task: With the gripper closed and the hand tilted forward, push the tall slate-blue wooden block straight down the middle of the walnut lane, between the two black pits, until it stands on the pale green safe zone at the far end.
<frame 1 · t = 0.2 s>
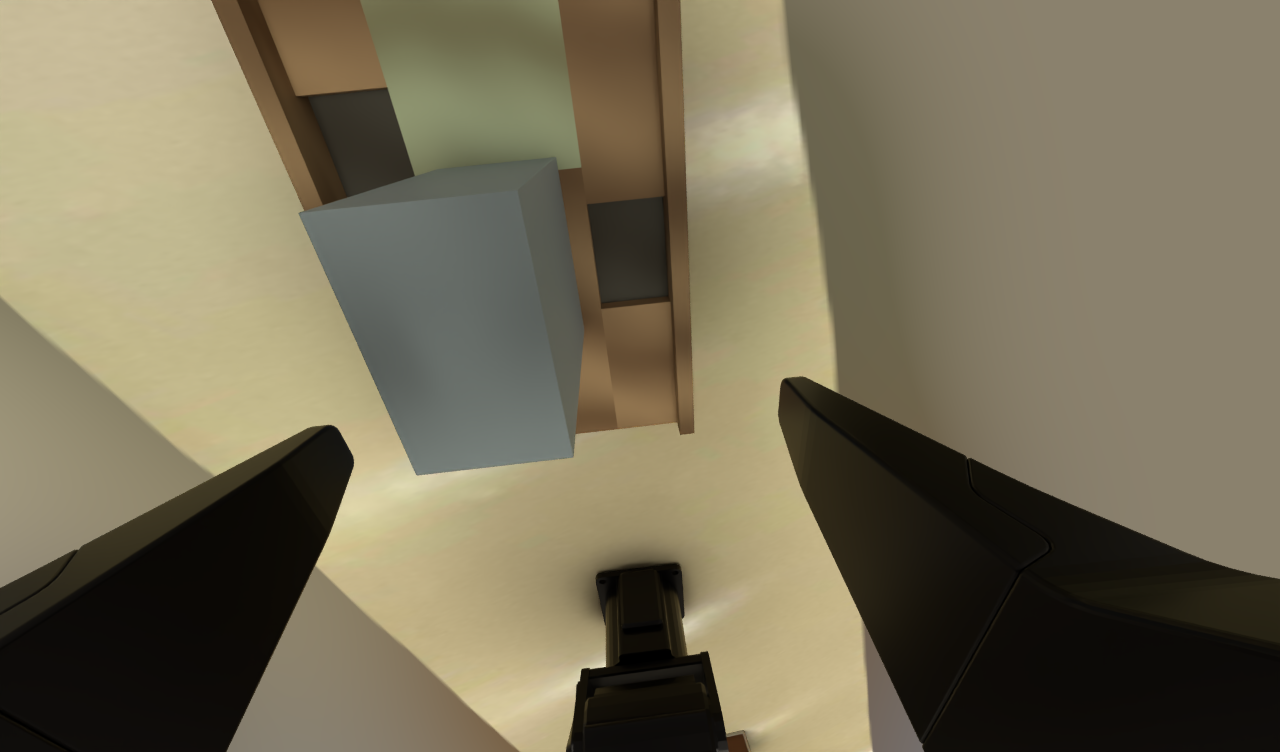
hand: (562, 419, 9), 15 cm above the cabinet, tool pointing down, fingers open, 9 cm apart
food container: (707, 748, 51), on the cabinet
slate block: (518, 257, 21), point 1 cm above the cabinet, touching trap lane
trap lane: (514, 219, 21), on the cabinet
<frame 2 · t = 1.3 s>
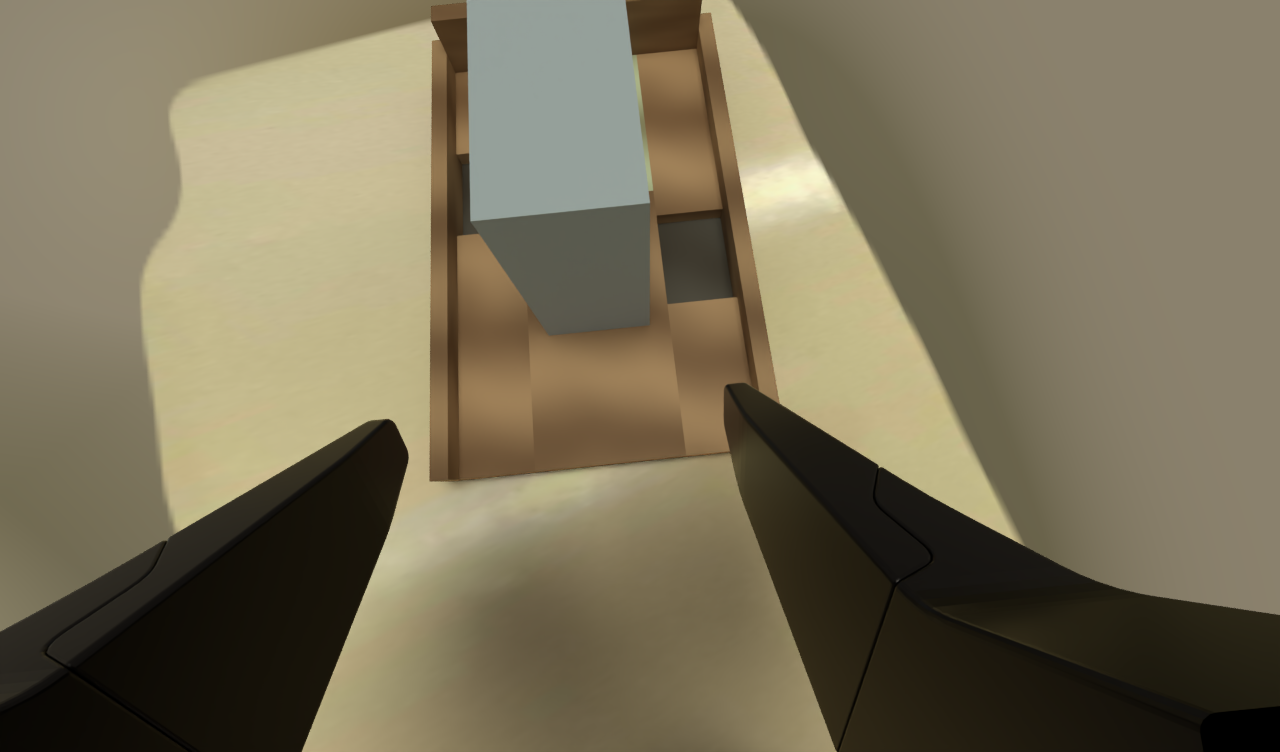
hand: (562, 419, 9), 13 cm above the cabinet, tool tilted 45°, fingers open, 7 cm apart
slate block: (593, 256, 23), point 1 cm above the cabinet, touching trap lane
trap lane: (593, 240, 24), on the cabinet
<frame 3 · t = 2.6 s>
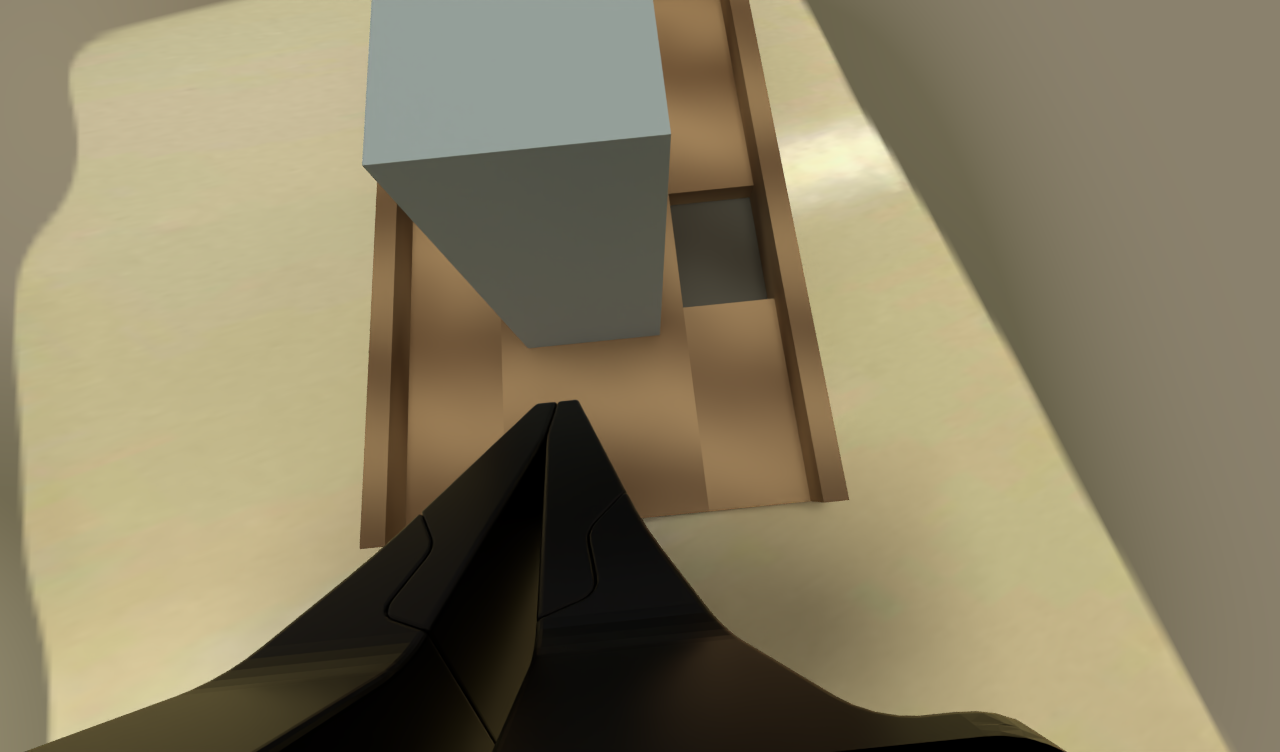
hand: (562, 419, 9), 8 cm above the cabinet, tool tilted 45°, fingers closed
slate block: (586, 246, 18), point 1 cm above the cabinet, touching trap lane
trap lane: (587, 226, 19), on the cabinet
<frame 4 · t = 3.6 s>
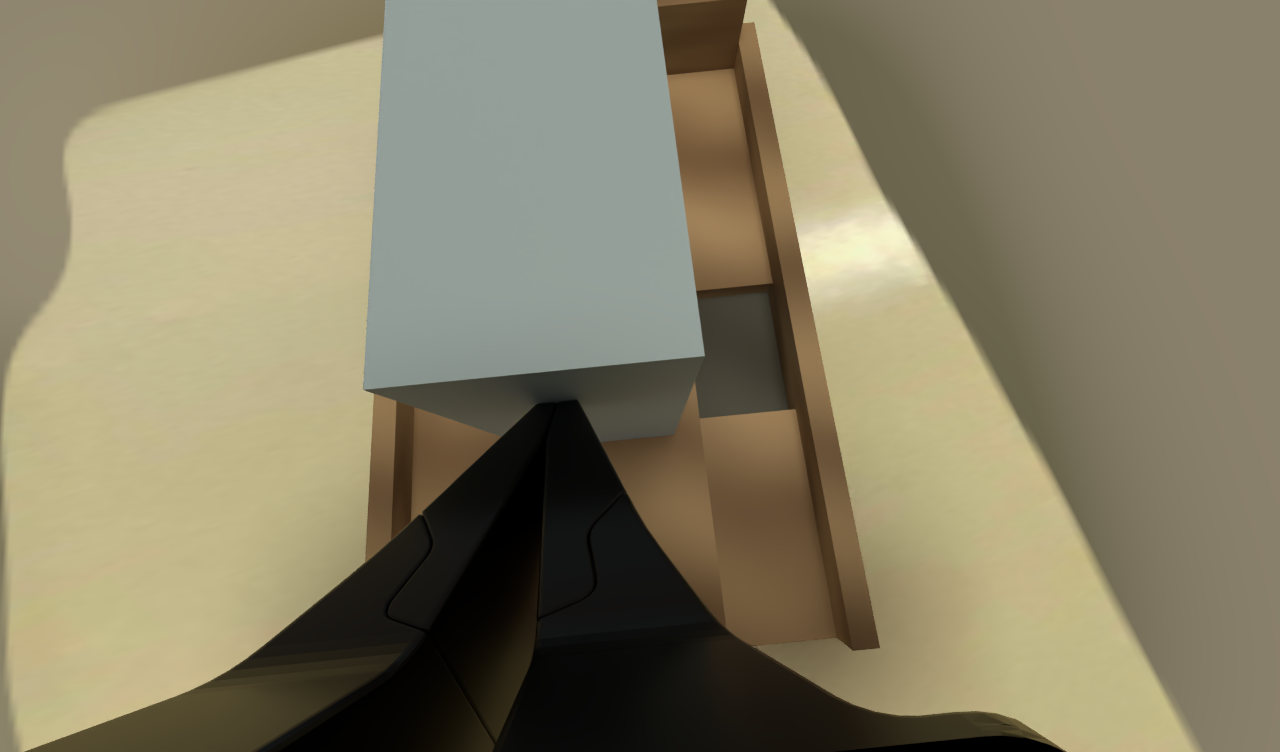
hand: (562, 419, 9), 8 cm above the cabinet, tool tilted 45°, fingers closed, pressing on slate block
slate block: (597, 337, 17), point 1 cm above the cabinet, touching gripper
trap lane: (598, 322, 18), on the cabinet
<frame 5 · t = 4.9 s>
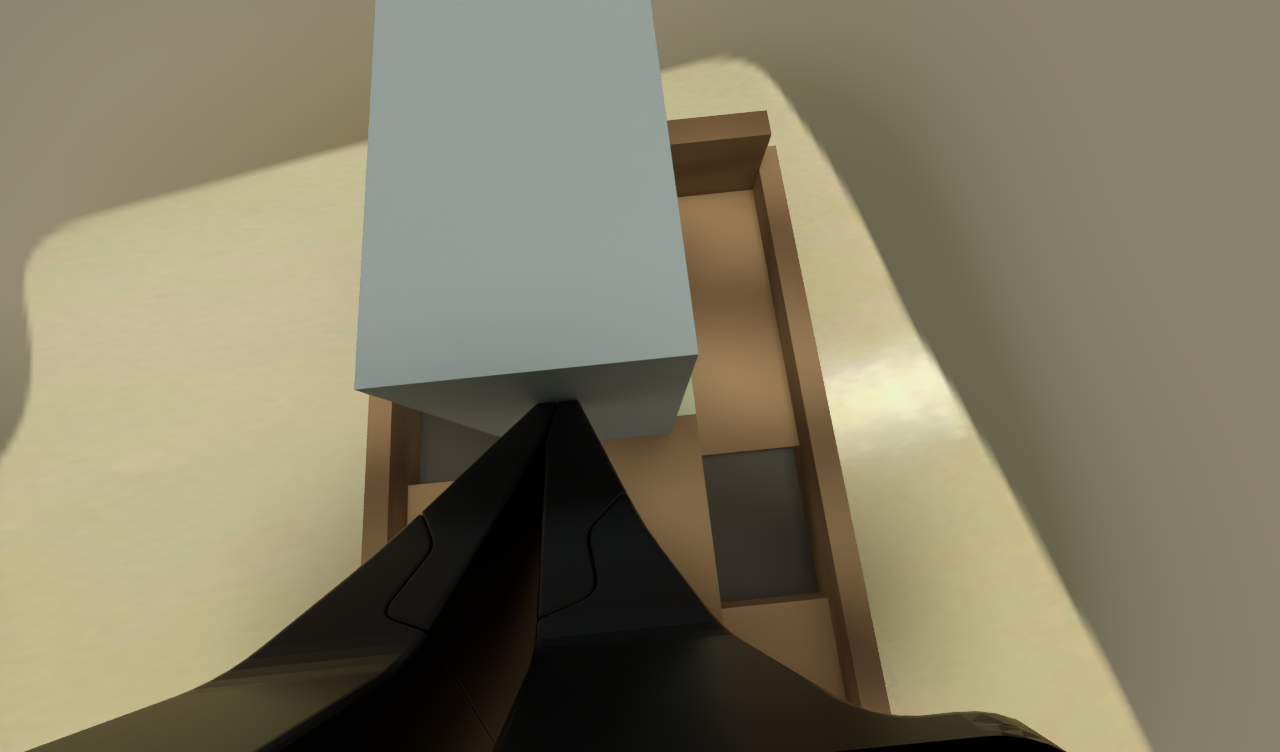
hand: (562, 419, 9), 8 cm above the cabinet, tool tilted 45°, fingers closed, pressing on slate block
slate block: (593, 335, 17), point 1 cm above the cabinet, touching gripper, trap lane
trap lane: (607, 480, 17), on the cabinet
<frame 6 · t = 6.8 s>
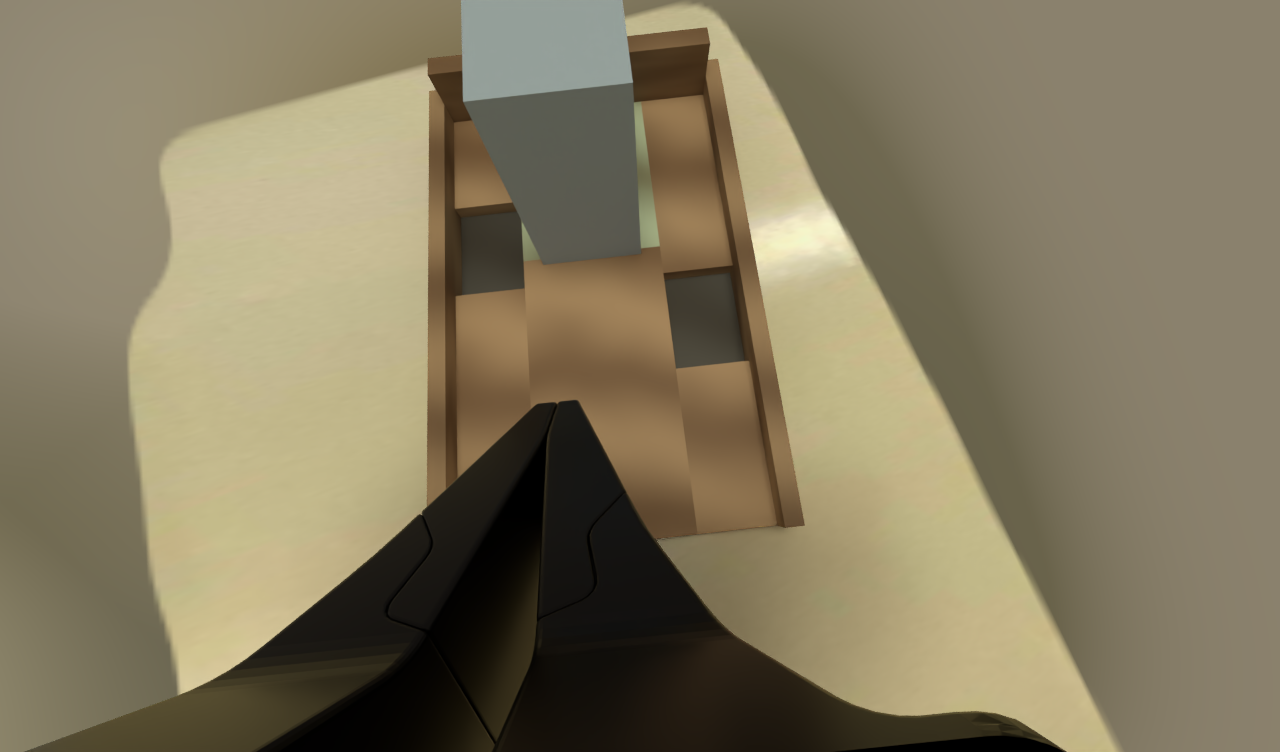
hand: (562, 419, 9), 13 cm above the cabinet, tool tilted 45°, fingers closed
slate block: (586, 191, 24), point 1 cm above the cabinet, touching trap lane
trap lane: (597, 297, 23), on the cabinet
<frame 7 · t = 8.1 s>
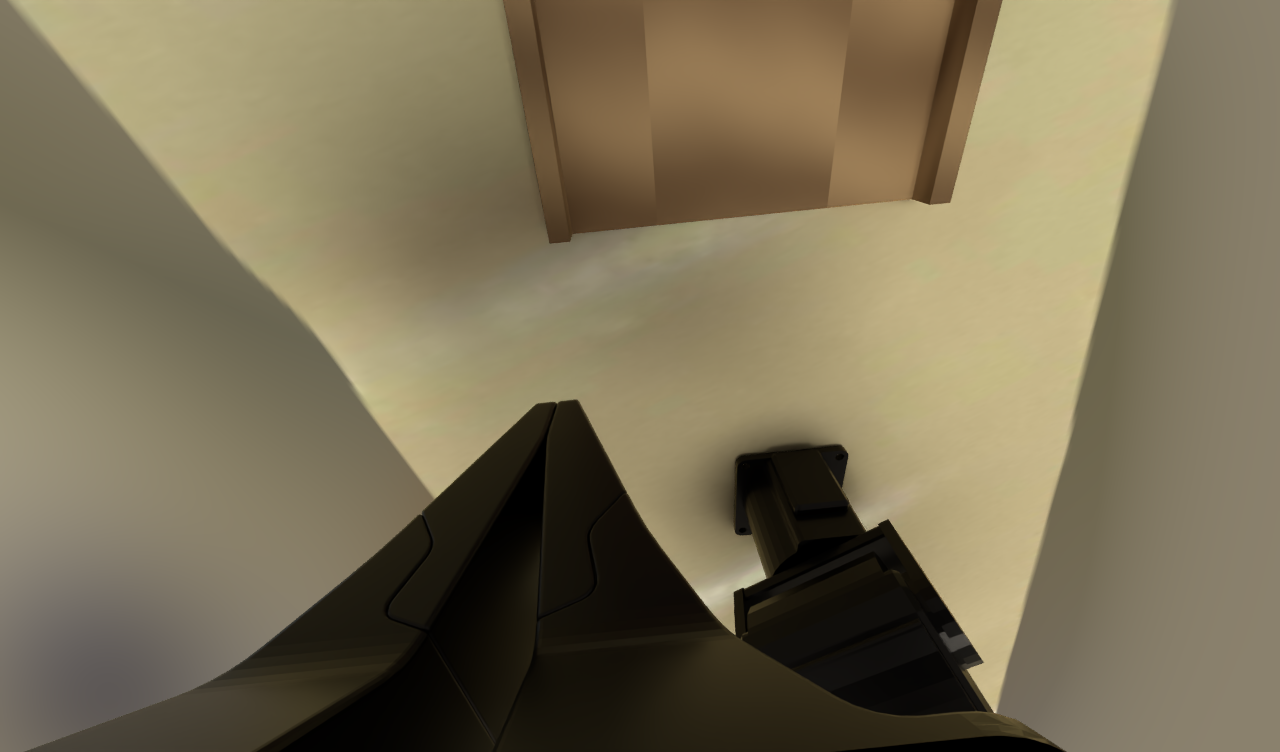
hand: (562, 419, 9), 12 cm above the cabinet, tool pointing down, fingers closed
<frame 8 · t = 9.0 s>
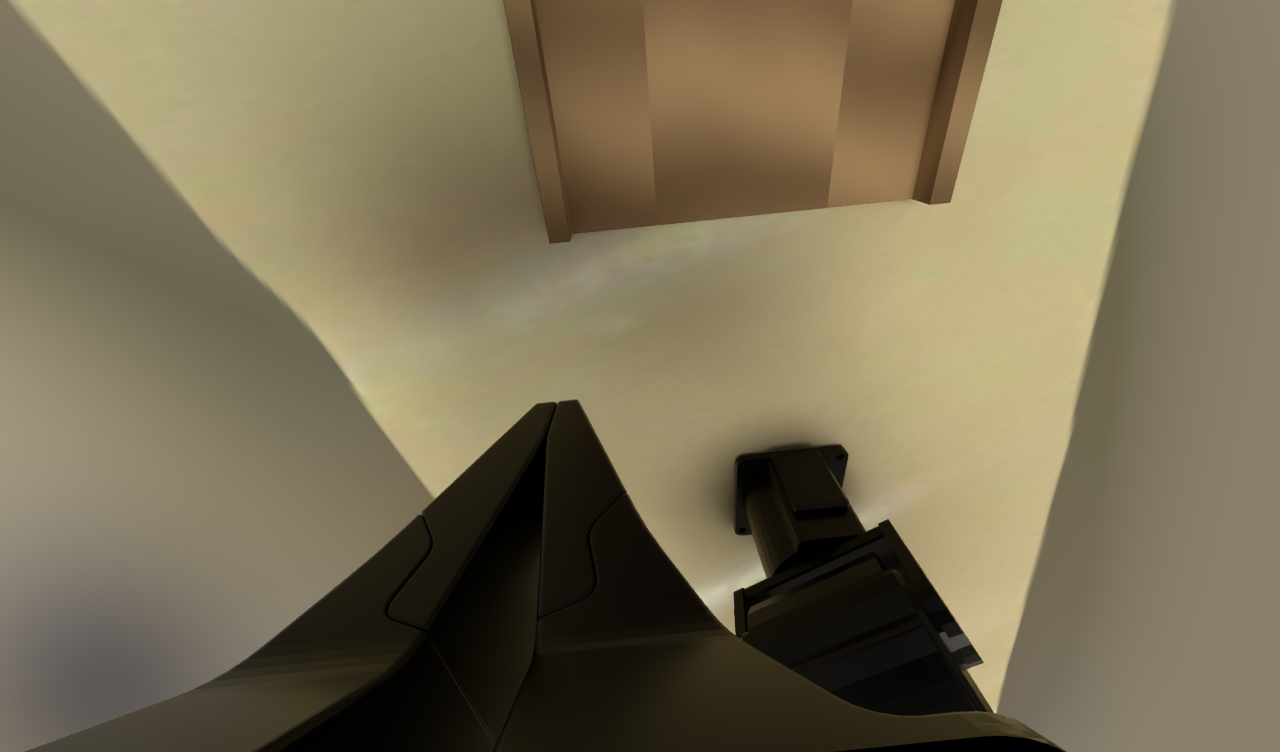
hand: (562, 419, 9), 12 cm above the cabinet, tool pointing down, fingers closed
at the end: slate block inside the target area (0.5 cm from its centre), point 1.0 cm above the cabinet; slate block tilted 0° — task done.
